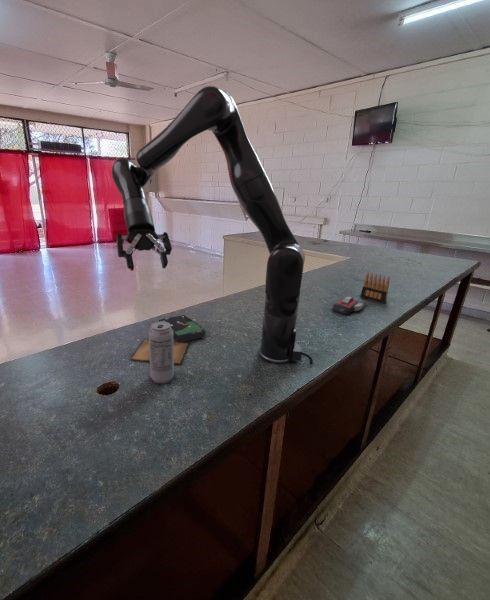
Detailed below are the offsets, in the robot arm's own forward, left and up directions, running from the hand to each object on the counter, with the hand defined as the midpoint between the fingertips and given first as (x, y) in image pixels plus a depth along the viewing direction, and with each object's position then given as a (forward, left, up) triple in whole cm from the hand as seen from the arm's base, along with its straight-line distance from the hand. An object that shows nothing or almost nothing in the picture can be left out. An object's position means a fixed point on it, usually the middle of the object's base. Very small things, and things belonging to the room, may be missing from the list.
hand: (148, 268), depth 83 cm
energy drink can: (-6, +10, -27) cm, 29 cm away
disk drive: (-5, -17, -26) cm, 32 cm away
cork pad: (-2, -3, -26) cm, 27 cm away
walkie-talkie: (-70, -53, -27) cm, 92 cm away
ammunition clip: (-83, -66, -27) cm, 109 cm away
